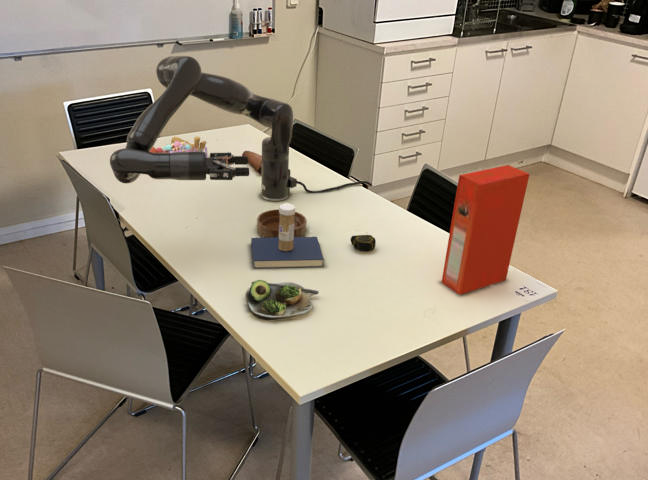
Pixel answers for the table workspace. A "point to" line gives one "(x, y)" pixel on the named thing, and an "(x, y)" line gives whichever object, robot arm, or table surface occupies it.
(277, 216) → the bowl
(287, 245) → the sprinkles bottle
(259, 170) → the sunglasses case
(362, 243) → the tape measure
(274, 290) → the salad plate
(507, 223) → the file binder
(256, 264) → the book
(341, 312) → the table surface
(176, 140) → the colorful candy landscape
